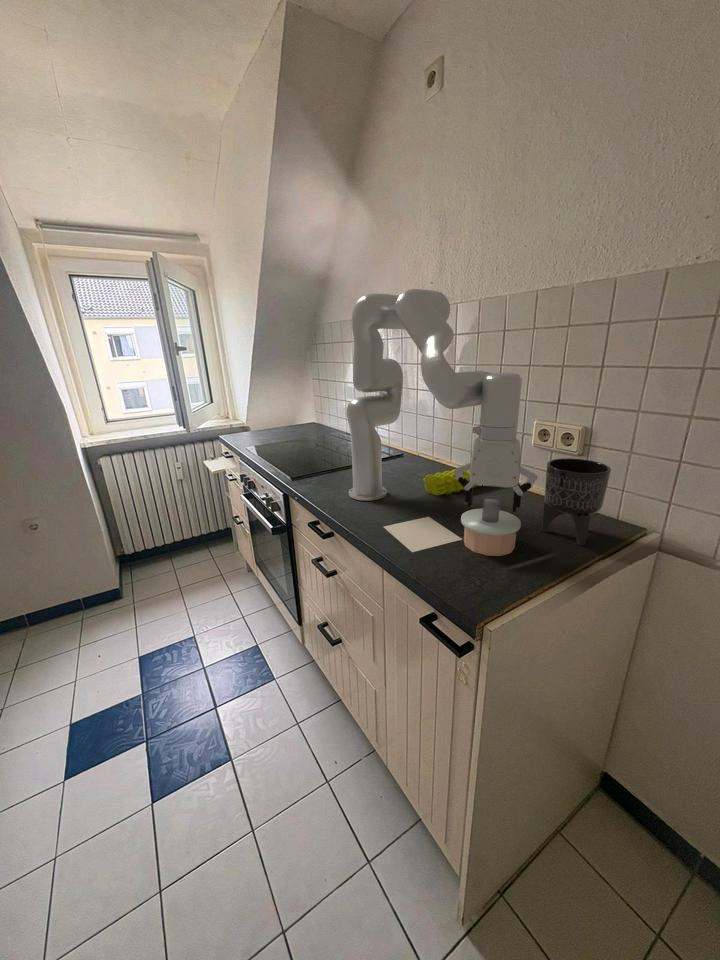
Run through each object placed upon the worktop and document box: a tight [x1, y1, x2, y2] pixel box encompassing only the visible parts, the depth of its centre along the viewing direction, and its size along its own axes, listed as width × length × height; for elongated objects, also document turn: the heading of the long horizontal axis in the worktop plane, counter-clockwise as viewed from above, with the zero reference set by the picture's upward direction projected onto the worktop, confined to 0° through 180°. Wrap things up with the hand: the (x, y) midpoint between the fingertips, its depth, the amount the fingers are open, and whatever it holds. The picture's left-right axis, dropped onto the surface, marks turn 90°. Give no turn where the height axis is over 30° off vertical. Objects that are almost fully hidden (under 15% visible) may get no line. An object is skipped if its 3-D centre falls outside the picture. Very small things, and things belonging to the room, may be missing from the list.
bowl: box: [463, 527, 517, 557], centre depth 88 cm, size 11×11×6 cm
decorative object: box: [422, 468, 483, 497], centre depth 126 cm, size 7×33×7 cm, turn 118°
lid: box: [460, 498, 522, 536], centre depth 86 cm, size 13×13×5 cm
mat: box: [383, 516, 464, 553], centre depth 95 cm, size 15×14×1 cm
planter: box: [541, 457, 612, 546], centre depth 90 cm, size 13×13×18 cm
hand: (491, 507), depth 85 cm, fingers open, 9 cm apart
